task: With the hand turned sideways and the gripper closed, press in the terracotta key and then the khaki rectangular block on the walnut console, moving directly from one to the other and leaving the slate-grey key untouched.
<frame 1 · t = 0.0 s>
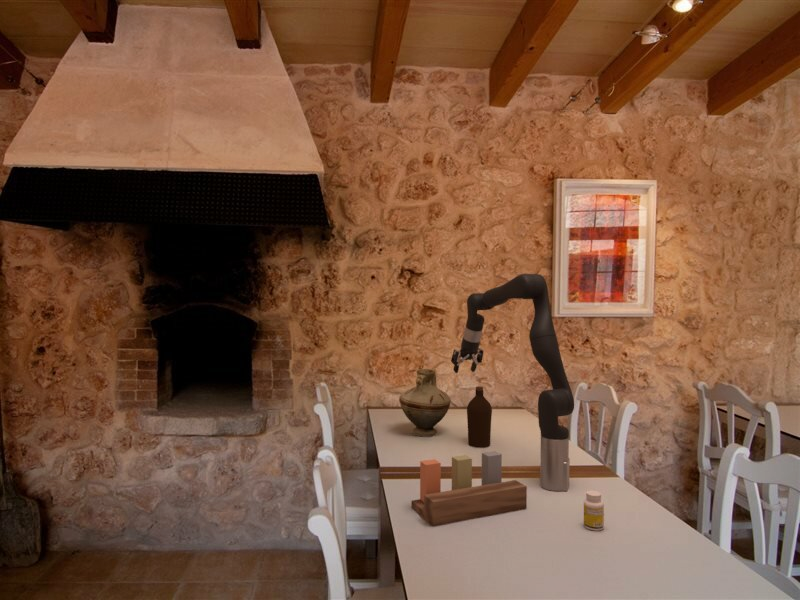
hand: (464, 371, 239), 31 cm above the table, tool tilted 20°, fingers open, 8 cm apart
console: (466, 506, 172), on the table
supplement bottle: (593, 527, 157), on the table
slate key: (491, 472, 179), point 8 cm above the table, slide at 0.0 cm
terracotta key: (430, 481, 170), point 8 cm above the table, slide at 0.0 cm
amphora: (424, 434, 256), on the table
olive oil: (479, 445, 238), on the table
khaki rectangular block: (461, 476, 174), point 8 cm above the table, slide at 0.0 cm
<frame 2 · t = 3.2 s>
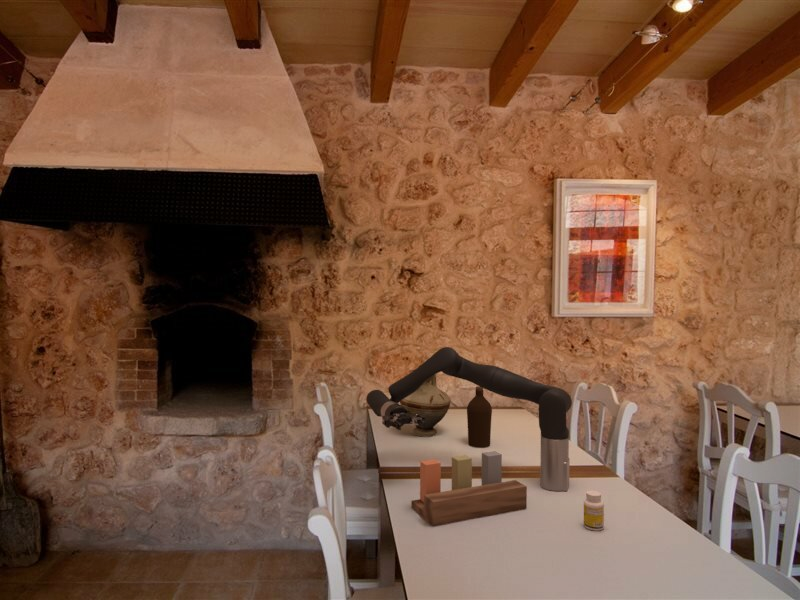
hand: (412, 426, 182), 22 cm above the table, tool horizontal, fingers open, 8 cm apart
nothing on the table moved.
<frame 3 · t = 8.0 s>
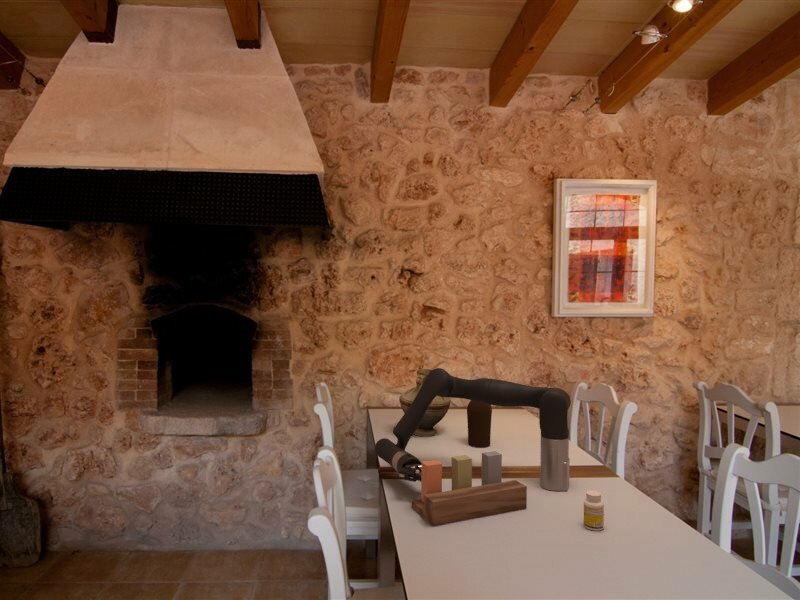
hand: (428, 481, 171), 8 cm above the table, tool horizontal, fingers closed
terracotta key: (431, 482, 169), point 8 cm above the table, slide at 0.9 cm, touching gripper
everything else where it was.
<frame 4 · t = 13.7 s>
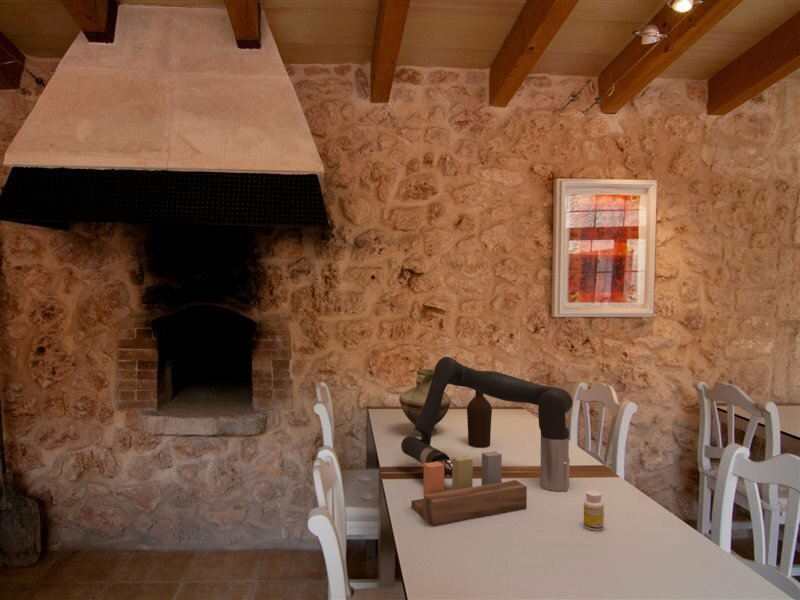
hand: (459, 475, 176), 8 cm above the table, tool horizontal, fingers closed
terracotta key: (433, 484, 168), point 8 cm above the table, slide at 2.4 cm
khaki rectangular block: (462, 477, 174), point 8 cm above the table, slide at 0.4 cm, touching gripper
everything else where it was.
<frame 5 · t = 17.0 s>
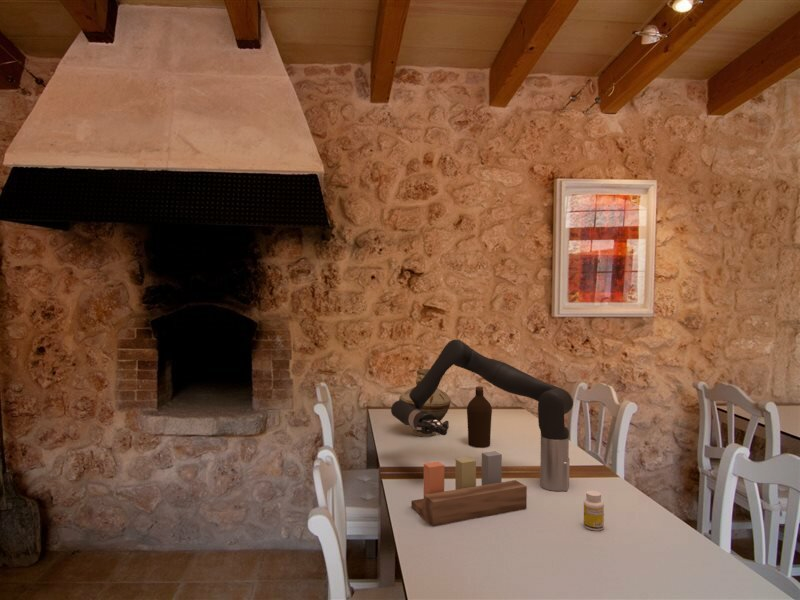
hand: (444, 431, 185), 20 cm above the table, tool horizontal, fingers closed
khaki rectangular block: (465, 479, 172), point 8 cm above the table, slide at 2.5 cm
everything else where it was.
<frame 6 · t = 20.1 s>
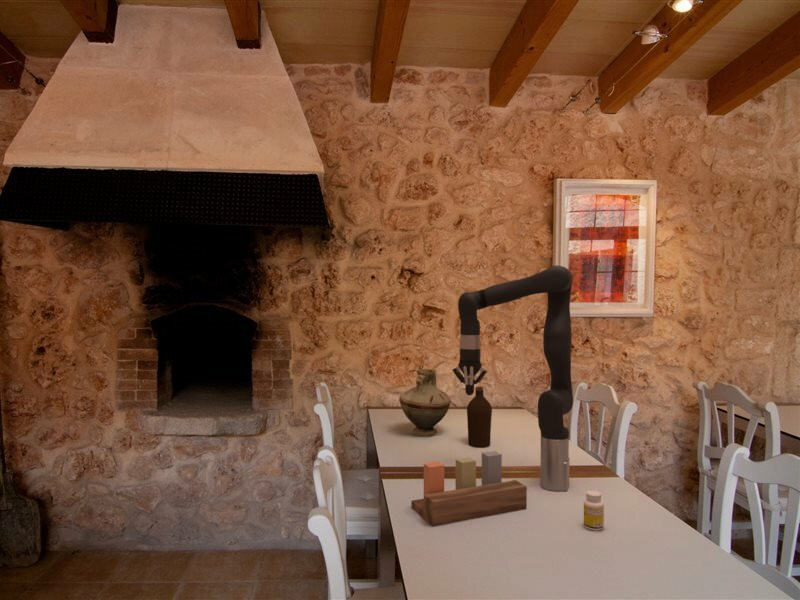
hand: (469, 394, 200), 29 cm above the table, tool pointing down, fingers closed
nothing on the table moved.
at the end: terracotta key slide at 2.4 cm; khaki rectangular block slide at 2.5 cm; slate key slide at 0.0 cm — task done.
